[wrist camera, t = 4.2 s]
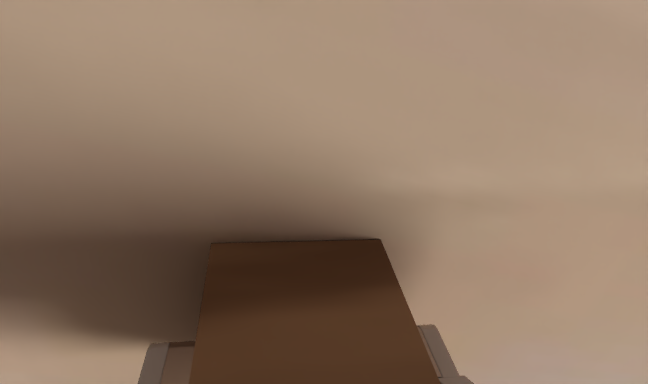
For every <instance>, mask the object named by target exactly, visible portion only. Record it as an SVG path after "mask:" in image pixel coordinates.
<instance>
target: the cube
mask: <svg viewBox="0 0 648 384" xmlns="http://www.w3.org/2000/svg"><path fill="white" fill-rule="evenodd" d="M189 384H440V381H439V379H438V376H437V374H436V372H435V369H434V367H433V364H432V362H431V360H430V357H429V355H428V352H427V350H426V348H425V345H424V343H423V340H422V338H421V336H420V333H419V331H418V328H417V326H416V324H415V321H414V319H413V316H412V314H411V311H410V309H409V307H408V304H407V302H406V299H405V297H404V295H403V292H402V290H401V287H400V285H399V283H398V280H397V278H396V275H395V273H394V271H393V268H392V266H391V263H390V261H389V259H388V256H387V254H386V251H385V249H384V247H383V244H382V242H381V240H340V241H294V242H248V243H211V248H210V254H209V261H208V267H207V273H206V279H205V286H204V292H203V298H202V304H201V311H200V317H199V323H198V329H197V336H196V342H195V348H194V354H193V361H192V367H191V373H190V379H189Z"/></svg>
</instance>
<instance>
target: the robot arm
mask: <svg viewBox="0 0 648 384" xmlns="http://www.w3.org/2000/svg"><path fill="white" fill-rule="evenodd" d="M416 326H417V325H416ZM417 328H418V331H419V333H420V336H421V338H422V340H423V343H424V345H425V348H426V350H427V352H428V355H429V357H430V360H431V362H432V364H433V367H434V369H435V372H436V374H437V376H438V379H439V381H440V384H474V383H473V382H471V381H470V380H469V379H468V378H467V377H465V376H460V375H459V373H458V371H457V369H456V367H455V365H454V363H453V361H452V359H451V356H450V354H449V352H448V350H447V348H446V346H445V344H444V342H443V340H442V338H441V335H440V333H439V331H438V329H437V328H436V327H435V326H434V325H432V324H430V325H418V326H417ZM195 342H196V341H184V342H163V343H151V344H150V346H149V348H148V349H147V352H146V356H145V359H144V363H143V367H142V370H141V374H140V377H139V381H138V384H189V379H190V373H191V367H192V361H193V354H194V348H195Z"/></svg>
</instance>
